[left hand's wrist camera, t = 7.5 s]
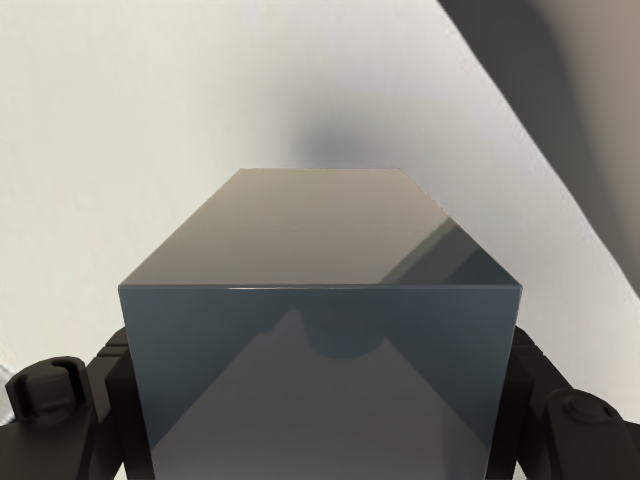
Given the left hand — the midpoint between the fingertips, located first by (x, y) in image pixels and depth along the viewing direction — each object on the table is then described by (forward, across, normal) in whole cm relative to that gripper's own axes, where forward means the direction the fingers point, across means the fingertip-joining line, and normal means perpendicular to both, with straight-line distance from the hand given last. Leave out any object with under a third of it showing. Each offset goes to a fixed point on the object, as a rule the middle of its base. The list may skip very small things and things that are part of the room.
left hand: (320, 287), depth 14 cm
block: (+4, 0, 0) cm, 4 cm away
